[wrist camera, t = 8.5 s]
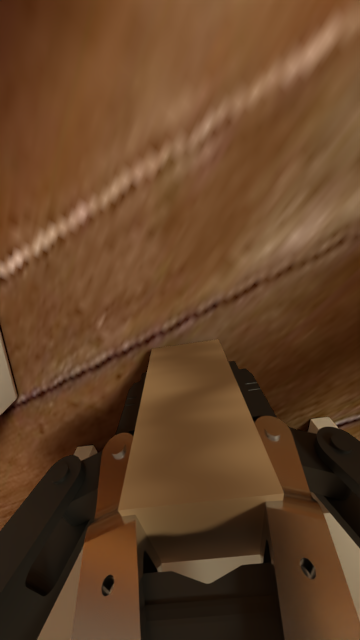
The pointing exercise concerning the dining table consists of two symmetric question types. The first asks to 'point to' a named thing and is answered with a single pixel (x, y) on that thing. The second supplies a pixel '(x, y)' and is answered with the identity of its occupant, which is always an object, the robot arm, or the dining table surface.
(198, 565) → the cabinet
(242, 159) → the dining table surface
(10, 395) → the medicine bottle
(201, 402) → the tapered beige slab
